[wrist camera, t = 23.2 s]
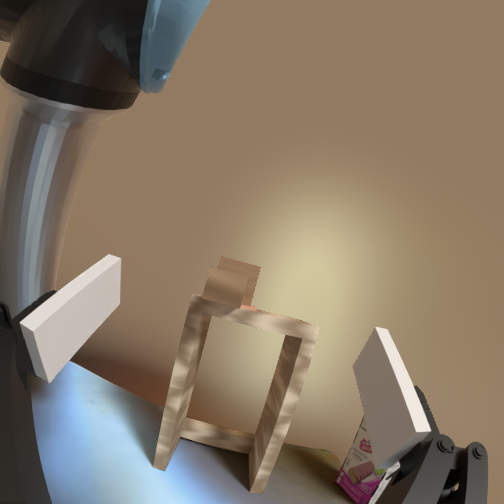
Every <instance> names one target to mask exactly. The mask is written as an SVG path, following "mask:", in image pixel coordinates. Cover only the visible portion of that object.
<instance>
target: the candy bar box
mask: <svg viewBox="0 0 504 504" xmlns="http://www.w3.org/2000/svg"><path fill="white" fill-rule="evenodd" d="M399 467H400V464H399V461H398V462H397V463H396V464H394V465H393V466H392V467H391V468H383V469H375V465H374V460H373V454H372V449H371V444H370V439H369V434H368V429H367V424H366V420H365V415H364V417H363V419H362V422H361V424H360V427H359V429H358V432H357V434H356V437H355V439H354V441H353V444H352V446H351V448H350V451H349V453H348V455H347V457H346V459H345V461H344V464H343V466H342V468H341V470H340V472H339V474H338V476H337V478H336V480H335V482H336V483H337V484H338V485H339V486H340V488H341V489H342V490H343V491H344V492H345V493H346V494H347V495H348V496H349V497H350V498H351V499H352V500H353V501H354V502H355V503H356V504H375V502H376V501H377V499H378V498H379V497H380V495H381V494H382V492H383V490H384V489H385V487H386V486H387V484H388V483H389V481H390V479H391V478H392V477H391V478H389V479H388V480H385V479H386V478H387V477H388V476H389V475H390V474H392V473H393V472H394V471H396V470H397V469H398V468H399Z"/></svg>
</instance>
